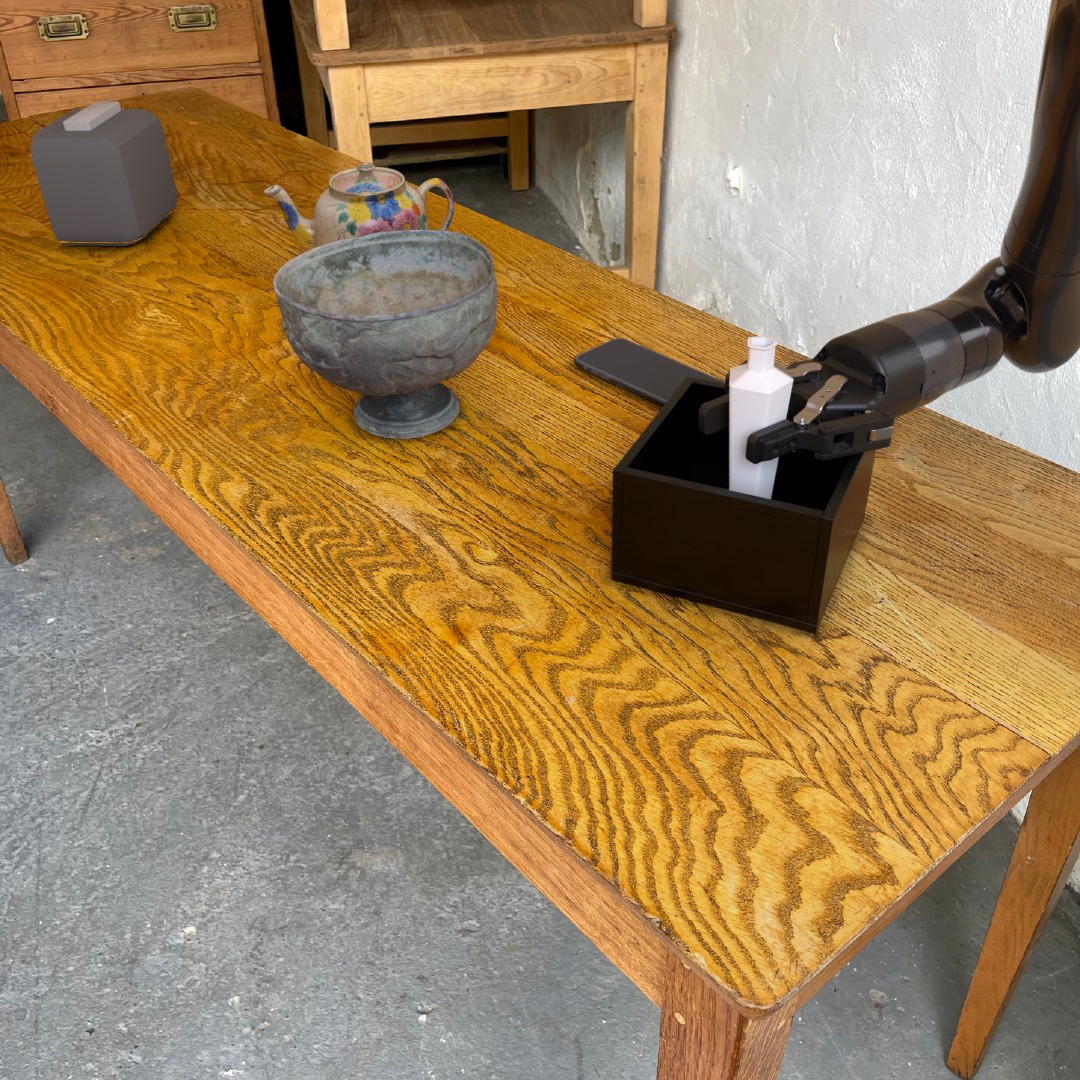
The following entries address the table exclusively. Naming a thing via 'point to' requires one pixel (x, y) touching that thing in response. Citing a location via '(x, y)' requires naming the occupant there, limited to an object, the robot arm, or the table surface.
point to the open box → (733, 519)
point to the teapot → (361, 206)
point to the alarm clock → (104, 174)
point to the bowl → (391, 322)
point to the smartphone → (638, 369)
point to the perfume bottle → (755, 414)
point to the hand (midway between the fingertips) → (726, 435)
